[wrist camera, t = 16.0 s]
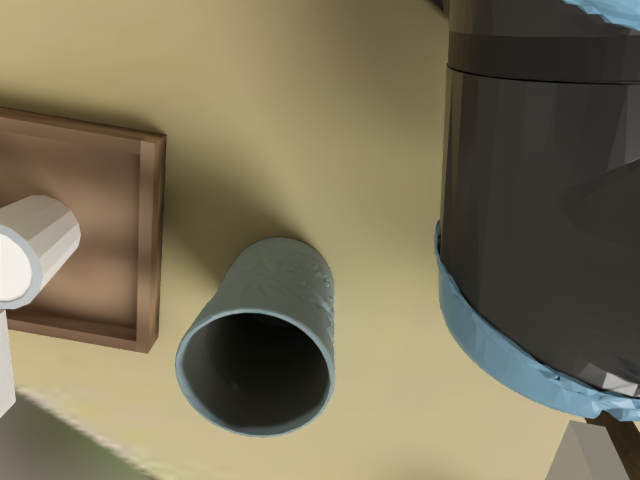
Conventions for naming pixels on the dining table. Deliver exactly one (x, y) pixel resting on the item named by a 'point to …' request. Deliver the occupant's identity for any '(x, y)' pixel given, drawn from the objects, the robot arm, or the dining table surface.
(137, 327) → the tray
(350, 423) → the dining table surface
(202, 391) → the blue cup
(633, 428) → the stick grenade
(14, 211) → the white cup
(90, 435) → the dining table surface
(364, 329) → the dining table surface
